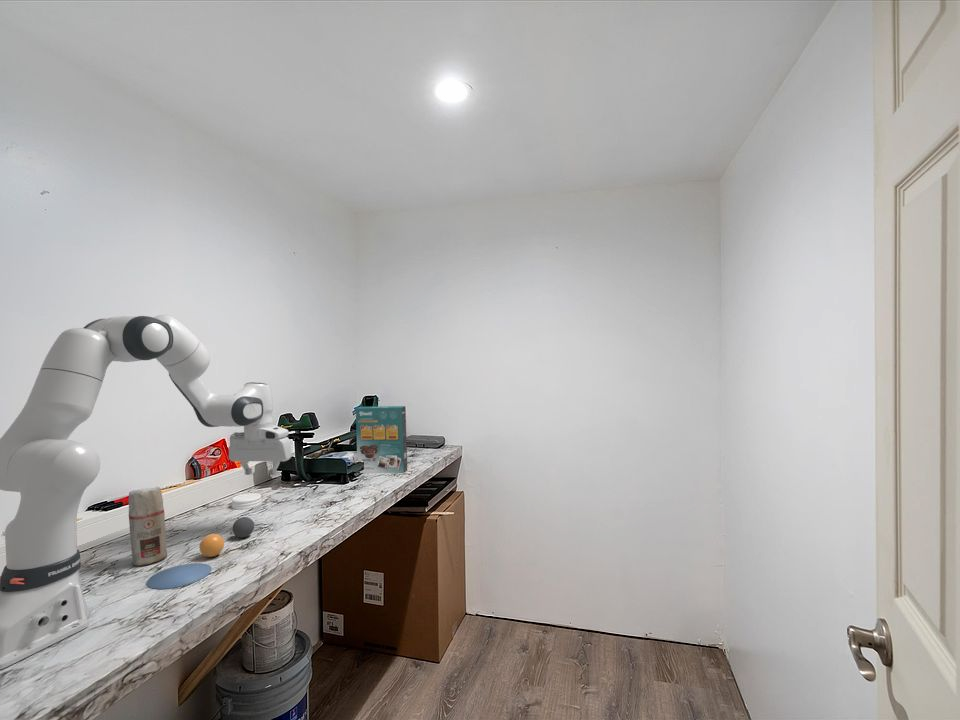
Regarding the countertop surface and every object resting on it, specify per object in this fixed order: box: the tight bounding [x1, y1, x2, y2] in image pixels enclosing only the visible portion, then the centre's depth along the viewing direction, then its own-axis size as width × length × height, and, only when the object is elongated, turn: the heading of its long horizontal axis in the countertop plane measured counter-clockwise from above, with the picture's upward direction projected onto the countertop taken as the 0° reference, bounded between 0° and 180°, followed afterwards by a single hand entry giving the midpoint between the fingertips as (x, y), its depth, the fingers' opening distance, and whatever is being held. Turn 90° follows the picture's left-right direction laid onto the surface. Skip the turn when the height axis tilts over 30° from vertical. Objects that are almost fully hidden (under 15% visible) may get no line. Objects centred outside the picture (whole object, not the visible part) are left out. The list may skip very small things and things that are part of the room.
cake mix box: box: [355, 405, 408, 474], centre depth 229 cm, size 22×6×30 cm, turn 82°
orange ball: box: [199, 533, 225, 558], centre depth 137 cm, size 6×6×6 cm
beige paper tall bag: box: [128, 486, 168, 566], centre depth 135 cm, size 8×8×20 cm
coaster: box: [230, 492, 262, 511], centre depth 183 cm, size 10×10×4 cm
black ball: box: [231, 516, 255, 539], centre depth 151 cm, size 6×6×6 cm
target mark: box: [146, 562, 212, 590], centre depth 125 cm, size 14×14×1 cm
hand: (260, 474), depth 160 cm, fingers open, 7 cm apart
